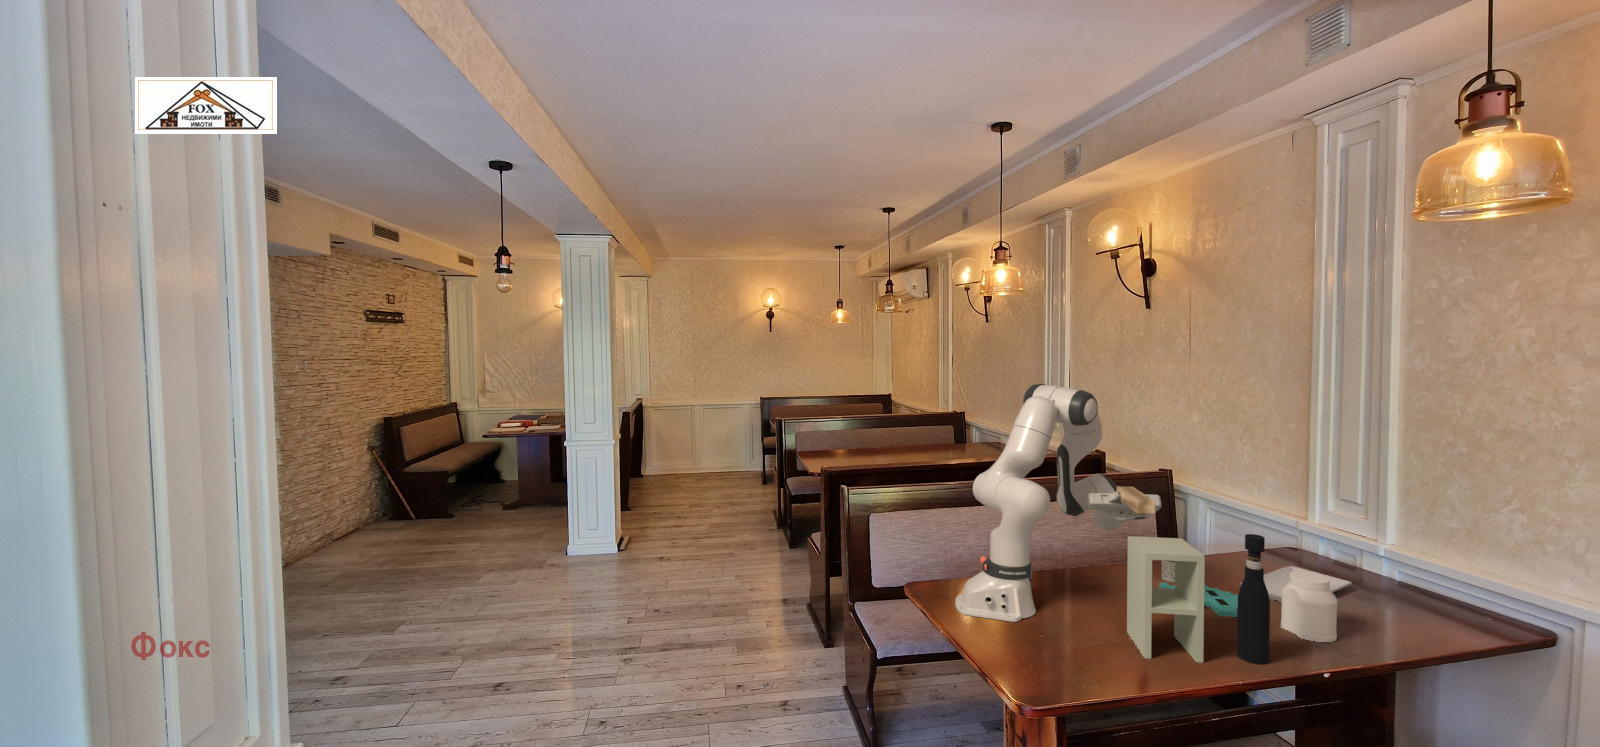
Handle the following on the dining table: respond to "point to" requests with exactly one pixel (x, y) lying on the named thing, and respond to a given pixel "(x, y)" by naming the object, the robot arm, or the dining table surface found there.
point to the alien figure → (1217, 600)
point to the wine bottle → (1253, 607)
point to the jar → (1309, 607)
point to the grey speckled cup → (1168, 571)
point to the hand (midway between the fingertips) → (1129, 494)
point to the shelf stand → (1166, 593)
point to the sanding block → (1136, 501)
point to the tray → (1281, 578)
